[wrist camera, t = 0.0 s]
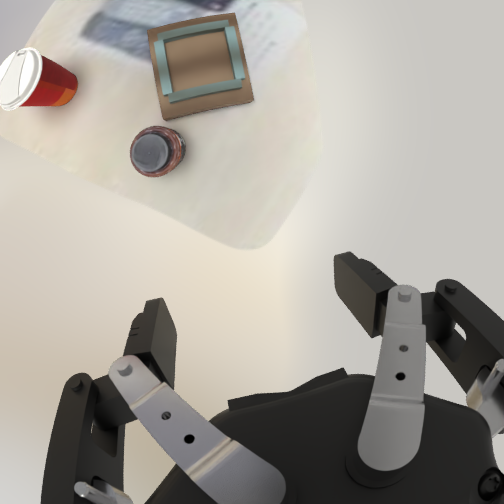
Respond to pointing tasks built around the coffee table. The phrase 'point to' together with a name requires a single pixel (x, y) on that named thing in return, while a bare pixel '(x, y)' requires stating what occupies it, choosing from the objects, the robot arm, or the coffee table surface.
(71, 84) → the paper cup
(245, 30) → the coffee table surface
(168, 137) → the supplement bottle
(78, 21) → the coffee table surface
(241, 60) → the walnut foundation
